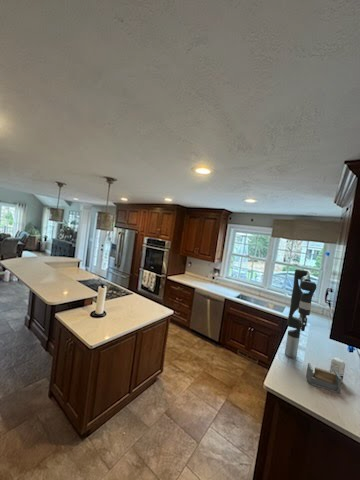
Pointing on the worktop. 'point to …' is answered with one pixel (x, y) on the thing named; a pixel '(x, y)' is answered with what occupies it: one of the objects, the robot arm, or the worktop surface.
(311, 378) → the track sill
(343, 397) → the worktop surface
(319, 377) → the door panel
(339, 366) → the supplement can
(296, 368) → the worktop surface
